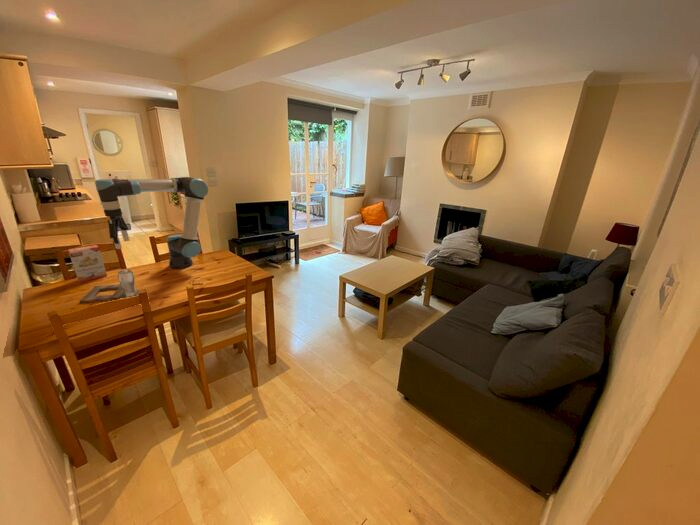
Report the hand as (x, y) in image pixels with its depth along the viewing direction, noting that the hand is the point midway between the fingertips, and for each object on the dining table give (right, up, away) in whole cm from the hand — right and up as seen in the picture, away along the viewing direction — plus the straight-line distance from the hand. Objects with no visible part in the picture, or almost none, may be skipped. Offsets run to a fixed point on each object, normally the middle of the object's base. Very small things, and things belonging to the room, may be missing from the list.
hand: (123, 244), depth 165 cm
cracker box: (-36, -21, +20) cm, 46 cm away
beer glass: (+3, -30, +2) cm, 30 cm away
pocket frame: (-12, -29, +3) cm, 32 cm away
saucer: (+3, -30, +2) cm, 30 cm away
